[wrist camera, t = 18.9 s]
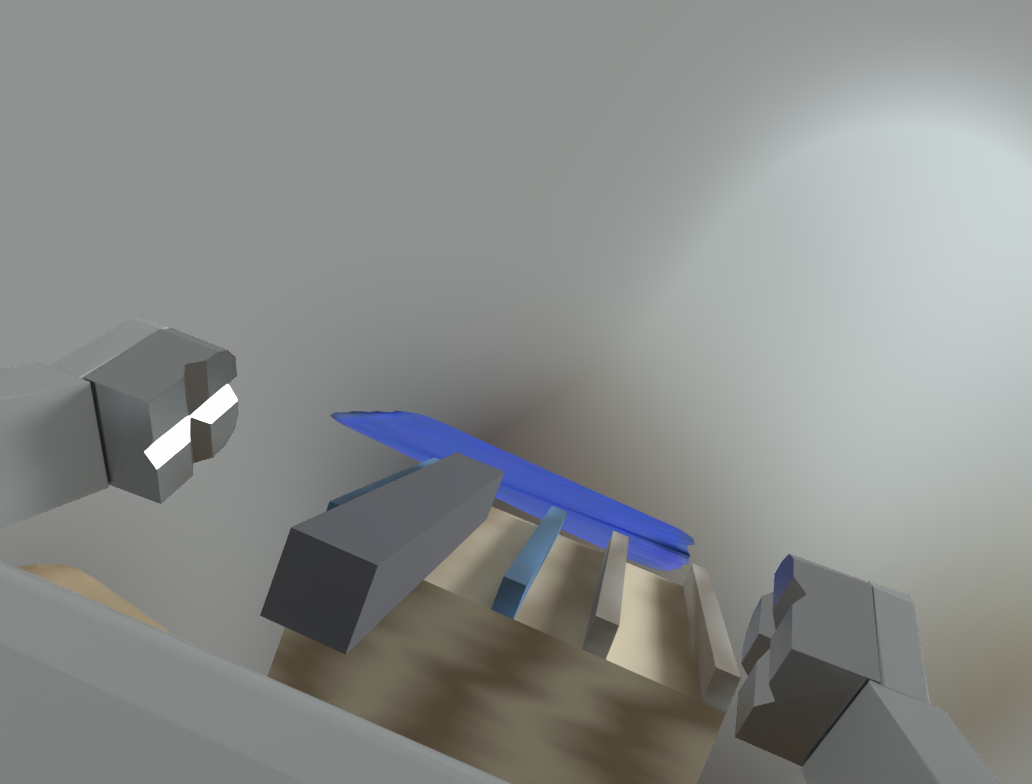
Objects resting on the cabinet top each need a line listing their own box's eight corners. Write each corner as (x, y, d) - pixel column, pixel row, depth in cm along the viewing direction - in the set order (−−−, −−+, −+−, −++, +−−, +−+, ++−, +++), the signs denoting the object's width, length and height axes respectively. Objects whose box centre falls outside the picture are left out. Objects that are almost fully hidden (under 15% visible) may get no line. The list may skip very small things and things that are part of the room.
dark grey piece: (486, 519, 44) (504, 471, 44) (345, 654, 23) (378, 565, 23) (439, 499, 44) (457, 452, 44) (260, 615, 24) (291, 527, 23)
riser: (546, 961, 48) (707, 567, 46) (494, 1266, 32) (740, 677, 29) (297, 835, 51) (436, 456, 48) (132, 1056, 34) (329, 501, 32)
